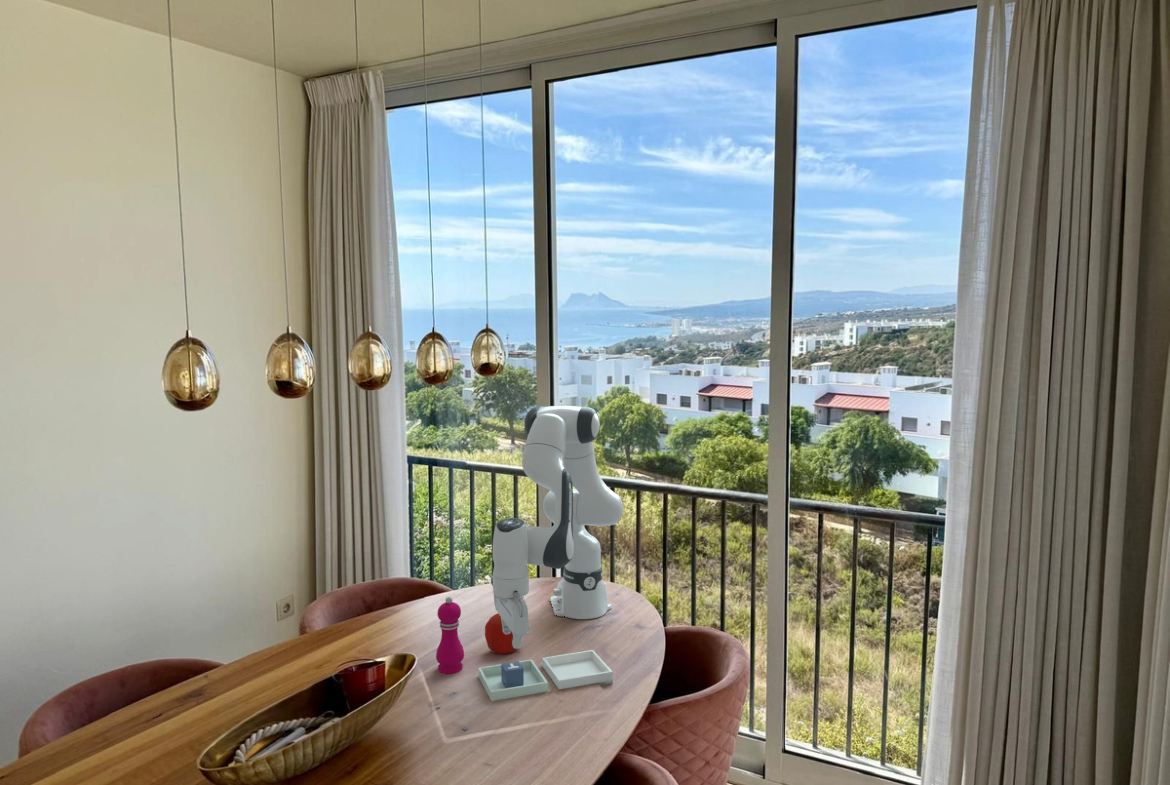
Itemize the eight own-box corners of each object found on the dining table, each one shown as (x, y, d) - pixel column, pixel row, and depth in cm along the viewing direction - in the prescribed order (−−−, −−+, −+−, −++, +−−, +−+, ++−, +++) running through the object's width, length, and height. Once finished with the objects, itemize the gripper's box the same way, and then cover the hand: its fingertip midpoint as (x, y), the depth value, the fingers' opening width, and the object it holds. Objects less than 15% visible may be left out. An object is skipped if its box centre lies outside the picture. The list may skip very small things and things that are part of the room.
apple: (528, 648, 217) (528, 608, 216) (509, 662, 208) (508, 620, 207) (498, 642, 222) (497, 602, 221) (478, 655, 213) (477, 614, 212)
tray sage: (478, 679, 198) (478, 667, 198) (532, 670, 203) (531, 659, 203) (491, 704, 185) (491, 692, 185) (548, 694, 190) (548, 682, 190)
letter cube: (501, 681, 195) (501, 663, 195) (518, 678, 197) (518, 660, 197) (505, 688, 191) (505, 670, 191) (523, 685, 193) (523, 667, 192)
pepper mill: (458, 679, 199) (457, 602, 197) (432, 676, 200) (430, 600, 198) (468, 666, 206) (467, 593, 204) (442, 664, 207) (441, 591, 205)
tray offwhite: (542, 668, 204) (542, 657, 204) (592, 660, 209) (592, 649, 209) (559, 692, 191) (559, 680, 191) (612, 683, 196) (612, 671, 195)
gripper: (535, 597, 183) (535, 654, 184) (512, 572, 202) (513, 624, 203) (509, 600, 181) (509, 658, 182) (489, 575, 200) (489, 627, 201)
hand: (511, 640), depth 193 cm, fingers open, 8 cm apart
